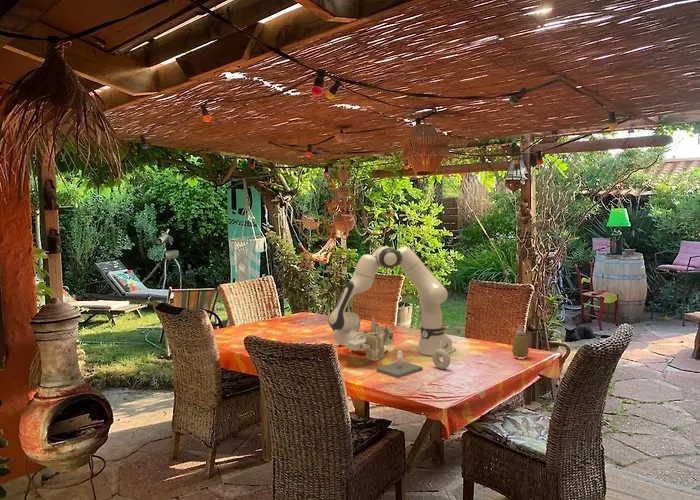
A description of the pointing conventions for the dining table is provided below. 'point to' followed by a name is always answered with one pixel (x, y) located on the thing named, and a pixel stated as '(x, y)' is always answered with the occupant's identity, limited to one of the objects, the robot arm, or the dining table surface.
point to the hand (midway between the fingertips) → (376, 345)
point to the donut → (437, 361)
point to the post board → (399, 368)
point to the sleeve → (375, 346)
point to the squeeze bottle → (520, 343)
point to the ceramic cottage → (382, 331)
